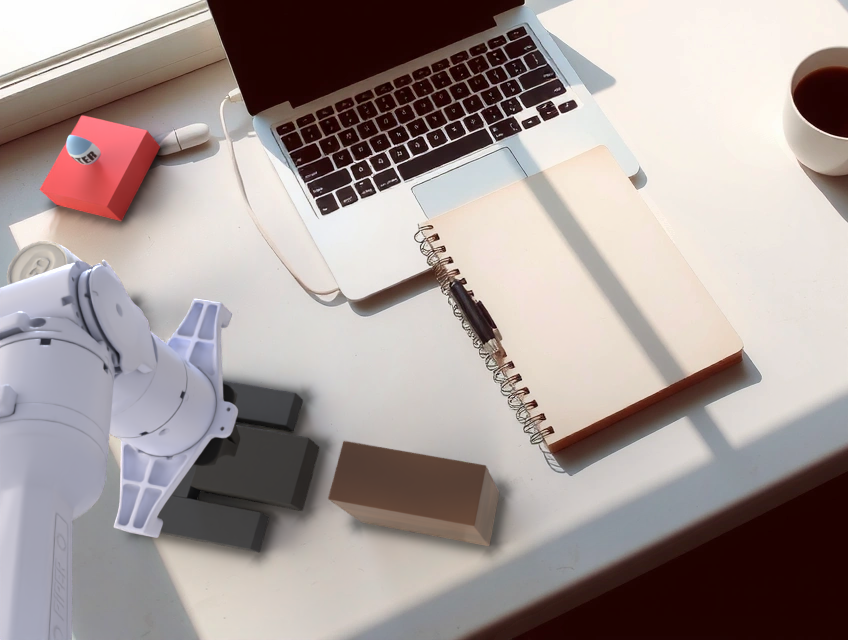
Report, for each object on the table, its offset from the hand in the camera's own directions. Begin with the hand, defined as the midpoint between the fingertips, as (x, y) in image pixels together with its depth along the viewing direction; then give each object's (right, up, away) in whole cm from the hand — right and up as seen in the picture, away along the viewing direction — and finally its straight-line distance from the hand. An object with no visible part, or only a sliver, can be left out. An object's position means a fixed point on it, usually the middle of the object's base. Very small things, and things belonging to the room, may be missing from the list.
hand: (224, 445), depth 65 cm
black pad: (+1, -3, +8) cm, 8 cm away
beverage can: (-14, +7, +14) cm, 21 cm away
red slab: (-17, +21, +20) cm, 34 cm away
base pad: (-3, -3, +8) cm, 9 cm away
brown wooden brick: (+14, -6, +5) cm, 16 cm away
